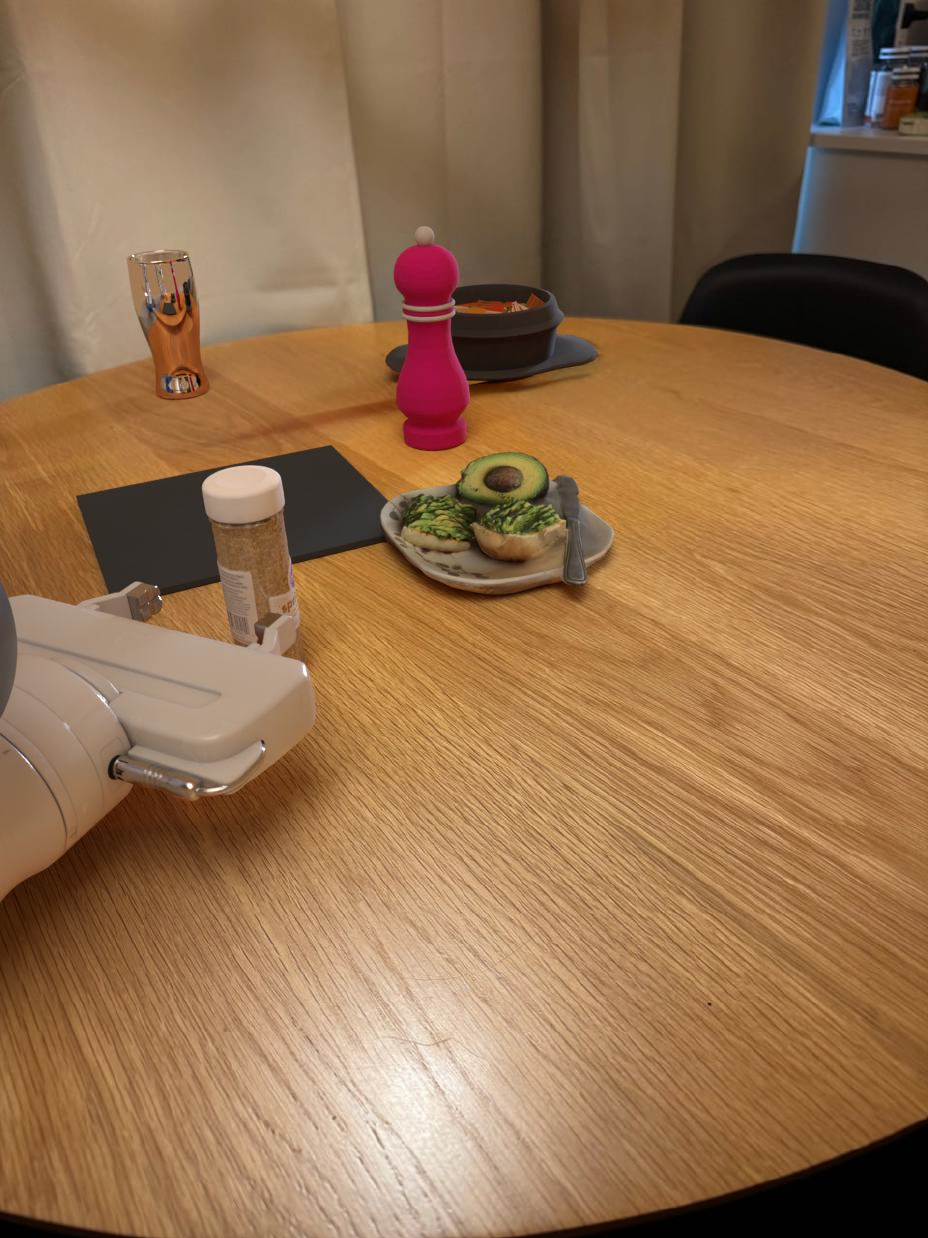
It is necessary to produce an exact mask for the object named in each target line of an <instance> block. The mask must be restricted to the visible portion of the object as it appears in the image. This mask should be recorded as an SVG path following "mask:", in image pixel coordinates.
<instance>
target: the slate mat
mask: <svg viewBox="0 0 928 1238" xmlns="http://www.w3.org/2000/svg"><path fill="white" fill-rule="evenodd" d="M249 465H252V466H263V467H267V468H271V469H273V470H275V471H276V472H277V473H278V474H279V475H280V477H281V481H282V486H283V492H284V500H285V504H284V506H283V509H284V511H283V516H284V525H285V531H286V537H287V545H288V551H289V555H290V558H291V565H293V564H296V563H300V562H305V561H308V560H314V559H317V558H321V557H325V556H326V557H327V556H329V555H333V554H337V553H342V552H346V551H350V550H351V551H352V550H356V549H358V548H362V547H363V548H364V547H366V546H371V545H375V544H378V543H383V542H388V541H387V540H386V538H385V536H384V534H383V532H382V529H381V524H380V512H381V510H382V509H383V507H384V506H385V504H386V503H387V502H388V501H389V499H387V498H386V497H385V495H383V494H382V493H381V492H380V490H379V489H377V488H376V487H375V486H374V485H373V484H372V483H371V482H370V481H369V480H368V479H367V478H366V477H365V476H364V475H363V474H362V473H361V472H360V471H359V470H358V469H357V468H356V467H355V466H354V465H353V464H352V463H351V462H350V461H349V460H347V458H346V457H344V455H342V453H341V452H339V450H337V449H336V448H335V447H334V446H333V445H332V444H329V445H328V444H327V445H324V446H318V447H313V448H309V449H308V448H307V449H304V450H298V451H293V452H287V453H283V454H279V455H274V456H273V455H272V456H268V457H263V458H258V459H253V460H248V461H243V462H238V463H233V464H229V465H223V466H219V467H214V468H207V469H202V470H198V471H193V472H188V473H184V474H177V475H173V476H168V477H162V478H158V479H153V480H148V481H143V482H138V483H133V484H128V485H127V484H126V485H122V486H118V487H113V488H108V489H107V488H106V489H103V490H99V491H98V490H97V491H93V492H88V493H83V494H79V495H78V494H77V495H76V496H75V497H76V501H77V504H78V508H79V510H80V513H81V516H82V519H83V522H84V525H85V528H86V530H87V533H88V536H89V540H90V542H91V546H92V548H93V551H94V554H95V557H96V559H97V563H98V566H99V569H100V571H101V574H102V578H103V580H104V583H105V586H106V589H107V592H108V594H112V593H116V592H117V593H119V592H120V591H122V590H123V589H125V588H126V587H128V586H129V585H131V584H132V583H134V582H142V583H146V584H150V585H154V586H157V587H158V588H159V590H160V595H159V596H160V597H161V596H164V595H168V594H169V595H170V594H172V593H176V592H180V591H185V590H190V589H193V588H197V587H201V586H206V585H210V584H213V583H214V584H215V583H218V582H221V579H220V574H219V569H218V563H217V557H218V555H217V552H216V546H215V541H214V535H213V531H212V524H211V522H210V521H209V516H208V515H207V514H206V510H205V505H204V499H203V493H202V485H203V482H204V481H205V480H206V478H208V477H209V476H210V475H212V474H214V473H216V472H218V471H221V470H224V469H227V468H232V467H237V466H249Z"/></svg>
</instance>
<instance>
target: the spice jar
mask: <svg viewBox="0 0 928 1238" xmlns="http://www.w3.org/2000/svg"><path fill="white" fill-rule="evenodd" d="M202 493H203V499H204V505H205V510H206V514H207V515H208V516H209V521H210V522H211V524H212V531H213V535H214V541H215V546H216V552H217V555H218V557H217V563H218V569H219V574H220V579H221V581H220V583H221V588H222V593H223V594H222V595H223V599H224V604H225V608H226V609H225V610H226V614H227V618H228V624H229V630H230V633H231V636H232V638H233V644H234V645H238V646H242V647H248V646H249V645H250V644H251V643H257V640H258V637H257V636H256V635H255V629H254V624H255V623H256V622H257V621H258V620H259V619H261V618H264V617H265V614H266V613H268V612H272V613H277V614H281V615H287V616H292V617H293V618H294V621H295V628H296V640H295V642H294V644H293V645H292V646H291V647H290V648H288V649H287V650H286V651H285V652H284V653H283V654H282V655H281V656H283V657H287V658H291V659H295V660H299V661H301V662H303V663H304V664H305V665H306V666H308V658H307V654H306V652H305V650H304V646H303V645H304V643H303V637H302V632H301V625H300V624H301V617H300V610H299V605H298V599H297V593H296V585H295V580H294V572H293V566H292V565H293V564H291V558H290V555H289V551H288V545H287V537H286V531H285V525H284V516H283V511H284V509H283V506H284V504H285V500H284V492H283V486H282V481H281V477H280V475H279V474H278V473H277V472H276V471H275V470H273V469H271V468H267V467H263V466H252V465H249V466H237V467H232V468H227V469H224V470H221V471H218V472H216V473H214V474H212V475H210V476H209V477H208V478H206V480H205V481H204V482H203V485H202Z"/></svg>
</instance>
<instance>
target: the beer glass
mask: <svg viewBox="0 0 928 1238" xmlns="http://www.w3.org/2000/svg"><path fill="white" fill-rule="evenodd" d="M189 255H190V253H189V252H188V251H186V250H181V249H157V250H156V249H155V250H148V251H142V252H137V253H134V254H131V255H129V256H127V257H126V263H127V270H128V279H129V286H130V287H129V288H130V292H131V298H132V302H133V303H132V304H133V306H134V311H135V313H136V316H137V320H138V323H139V326H140V329H141V330H142V331H141V332H142V333H143V336H144V339H145V341H146V344H147V346H148V348H149V351H150V355H151V357H152V361H153V366H154V373H155V374H154V375H155V393H156V395H157V396H158V397H159V398H162V399H165V400H184V399H191V398H195V397H198V396H202V395H204V394H206V393H208V391H209V390H210V388H211V386H210V382H209V379H208V377H207V373H206V371H205V368H204V365H203V360H202V354H201V317H200V315H201V313H200V300H199V293H198V289H197V283H196V278H195V274H194V270H193V266H192V263H191V258H190V256H189Z"/></svg>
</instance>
